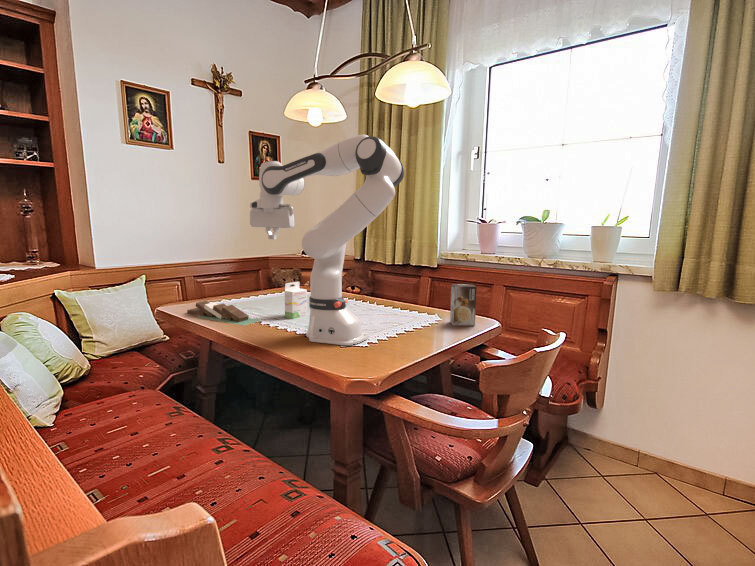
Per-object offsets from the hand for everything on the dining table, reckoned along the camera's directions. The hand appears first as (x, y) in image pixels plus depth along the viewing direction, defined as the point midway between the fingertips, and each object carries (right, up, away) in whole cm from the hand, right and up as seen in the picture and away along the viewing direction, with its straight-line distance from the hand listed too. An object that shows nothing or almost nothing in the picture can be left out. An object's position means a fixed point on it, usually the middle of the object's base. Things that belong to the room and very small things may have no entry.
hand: (272, 239), depth 160 cm
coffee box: (+77, -34, +4) cm, 84 cm away
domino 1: (-30, -30, +10) cm, 43 cm away
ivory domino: (-21, -31, +5) cm, 38 cm away
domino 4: (-12, -32, +1) cm, 34 cm away
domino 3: (-16, -32, +3) cm, 36 cm away
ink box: (+8, -32, +10) cm, 35 cm away
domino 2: (-25, -31, +7) cm, 41 cm away
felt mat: (-19, -33, +5) cm, 38 cm away
